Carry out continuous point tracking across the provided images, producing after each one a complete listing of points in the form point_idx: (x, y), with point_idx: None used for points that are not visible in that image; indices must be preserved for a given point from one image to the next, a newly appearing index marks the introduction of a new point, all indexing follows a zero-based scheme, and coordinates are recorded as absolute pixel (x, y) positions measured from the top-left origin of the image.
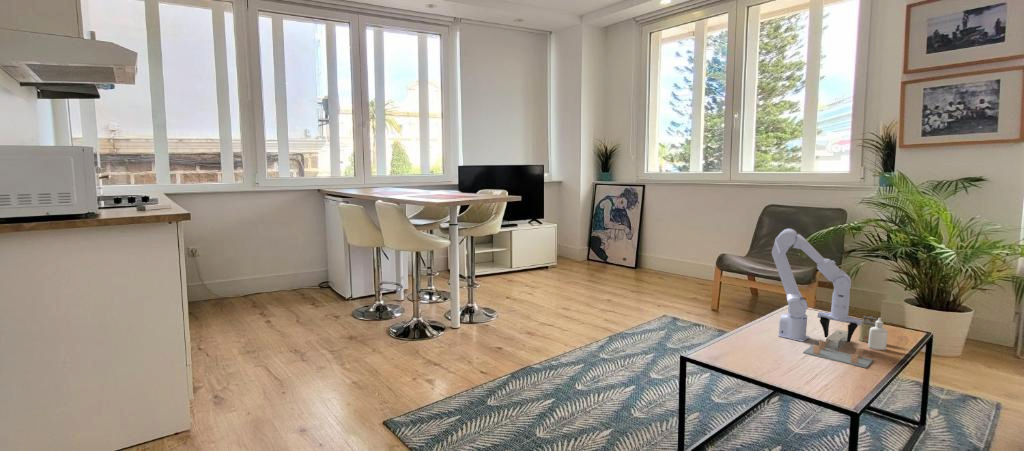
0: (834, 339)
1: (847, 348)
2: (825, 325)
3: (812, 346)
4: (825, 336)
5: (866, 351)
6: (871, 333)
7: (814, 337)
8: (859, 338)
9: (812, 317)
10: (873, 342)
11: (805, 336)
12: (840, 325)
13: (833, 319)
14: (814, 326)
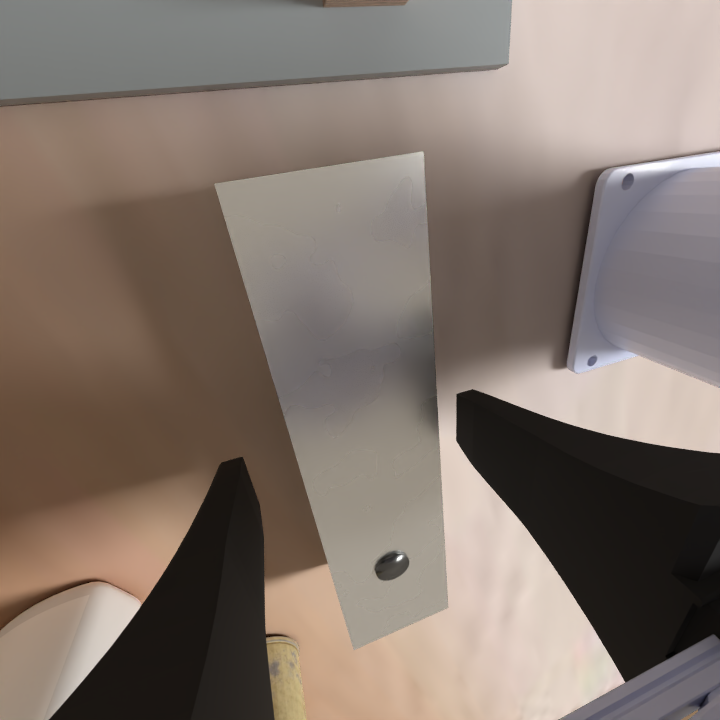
0: (320, 258)
1: (215, 395)
2: (609, 467)
3: (492, 7)
4: (472, 392)
5: (36, 485)
6: None
7: (531, 409)
8: (285, 651)
9: (586, 653)
10: (27, 671)
11: (610, 291)
12: (467, 692)
13: (627, 712)
14: None
